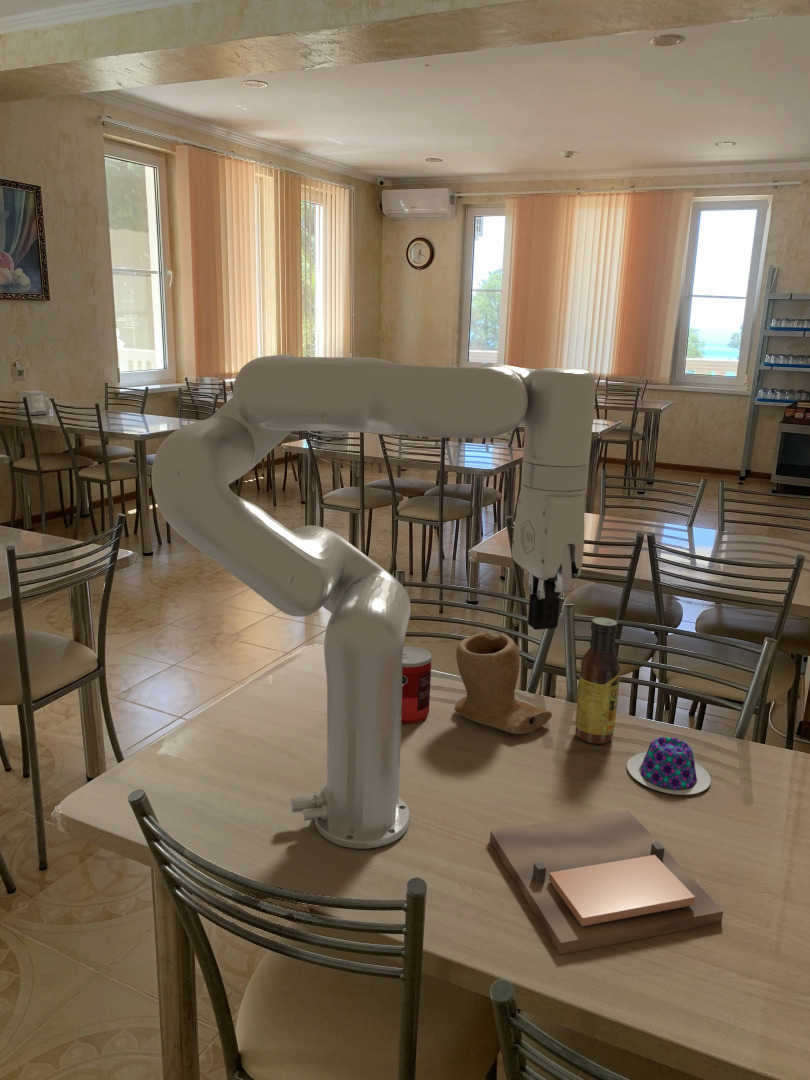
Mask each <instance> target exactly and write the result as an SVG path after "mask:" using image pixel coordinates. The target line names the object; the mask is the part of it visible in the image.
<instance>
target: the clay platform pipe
mask: <svg viewBox="0 0 810 1080" xmlns="http://www.w3.org/2000/svg"><path fill="white" fill-rule="evenodd" d="M455 657H456V662H457V663H456V664H457V668H458V671H459V676H460V678H461V680H462V684H463V686H464V689H465V692H466V696H464V697H462V698H461V699H459V700H458V701H456V704H455V706H454V711H455V712H456V714H458V715H459V716H461V717H462V718H465V719H468V720H470V721H473V722H476V723H478V724H480V725H481V724H482V725H484V726H487V727H491V728H494V729H497V730H500V731H503V732H506V733H510V734H512V735H513V734H514V735H526V734H531V733H532V732H534V731H536V730H538V729H540V728H541V727H543V726H544V725H546V724H547V723H548V721H550V720H551V718H552V716H553V714H552V711H550V710H546V709H544V708H541V707H538V706H535V705H532V704H529V703H527V702H524V701H521V700H517V699H516V698H515V691H516V686H517V682H518V678H519V672H520V664H521V663H520V662H521V660H520V651H519V647H518V645H517V644H516V642H515V641H514V639H513V638H511V637H510V636H508V635H506V634H501V633H499V634H493V633H489V632H481V633H475V634H473V635H469V636H468V637H466V638H464V639H462V640H461V641H460V642H459V644H458V645H457V648H456V654H455Z"/></svg>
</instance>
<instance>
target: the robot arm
mask: <svg viewBox="0 0 810 1080" xmlns="http://www.w3.org/2000/svg"><path fill="white" fill-rule="evenodd" d="M596 387H597V383H596V378H595V376H594V374H593V373H592V372H590V371H588V370H586V369H580V368H567V367H543V368H538V369H534V368H527V367H521V366H519V367H518V366H513V365H508V364H503V363H497V362H495V363H494V362H492V363H485V364H482V365H480V366H433V365H412V364H404V363H403V364H402V363H396V362H393V361H390V360H387V359H384V358H383V359H382V358H378V357H377V358H376V357H365V356H363V357H357V356H356V357H354V356H353V357H349V356H348V357H346V356H341V357H338V356H335V357H334V356H333V357H332V356H329V357H327V356H293V355H288V354H277V355H276V354H275V355H269V356H267V355H265V356H261V357H257V358H256V357H255V358H254V359H252V360H250V361H248V362H246V363H245V364H244V365H243V366H242V367H241V368H240V369H239V372H237V375H236V376H235V378H234V383H233V387H232V396H231V397H230V398H229V400H227V401H226V402H225V403H224V404H223V405H221V407H220V408H219V409H218V410H217V411H216V412H215V413H213V415H211V416H210V417H209V418H206V419H204V420H200V421H195V422H193V423H190V424H187V425H184V426H182V427H180V428H178V429H176V430H174V431H173V432H172V433H170V434H169V435H168V436H167V437H166V438H165V439H164V440H163V441H162V442H161V443H160V445H159V447H158V448H157V450H156V452H155V456H154V459H153V463H152V467H151V488H152V492H153V497H154V500H155V502H156V503H155V504H156V505H157V508H158V509H159V512H160V514H161V515H162V517H163V518H164V520H165V521H166V522H167V523H168V525H169V526H170V527H171V528H172V529H173V530H174V532H176V533H177V534H178V535H179V536H180V537H181V538H183V539H184V540H185V541H187V542H188V543H189V544H191V545H192V546H194V547H195V548H196V549H198V550H199V551H200V552H201V553H203V554H205V555H206V556H207V557H209V558H211V559H212V560H213V561H215V562H216V563H217V564H219V566H221V567H223V568H224V569H225V570H226V571H227V572H228V573H230V574H231V575H232V576H233V577H235V578H236V579H237V580H239V581H240V582H241V583H243V584H244V585H246V586H247V587H248V588H250V589H251V590H252V591H253V592H255V593H256V594H257V595H259V596H260V597H262V598H263V600H265V601H266V602H268V603H269V604H271V605H272V606H273V608H274V607H275V608H276V609H277V610H279V611H280V612H282V613H284V614H285V615H288V616H292V617H295V618H300V617H301V618H302V617H307V616H310V615H312V614H314V613H316V612H318V611H319V610H320V609H321V608H322V607H323V609H325V610H327V611H328V612H330V613H331V615H330V617H329V620H328V622H327V625H326V628H325V633H324V640H323V641H324V643H323V653H324V654H323V655H324V665H325V672H326V673H325V674H326V715H327V717H326V721H327V722H326V723H327V724H326V782H325V783H324V782H322V783H320V784H321V791H317V792H314V795H307V796H306V795H305V796H304V795H302V796H295V797H294V796H293V797H290V811H291V813H293V814H295V813H301V812H302V819H303V821H305V822H306V821H311V820H314V825H315V827H316V830H317V831H318V833H319V834H320V835H321V836H322V837H324V839H325V840H328V841H330V842H331V843H333V844H336V845H338V846H340V847H346V848H349V849H358V850H362V849H374V848H379V847H383V846H387V845H389V844H392V843H393V842H395V841H397V840H399V839H400V838H401V837H402V836H403V835H404V834H405V833H407V830H408V829H409V826H410V822H411V821H410V820H411V818H410V817H411V816H410V815H411V812H410V808H409V806H408V805H407V803H406V802H405V800H403V799H402V798H401V797H400V776H401V775H400V772H401V771H400V770H401V745H402V744H401V740H402V739H401V736H402V724H401V716H402V713H401V710H402V655H403V646H405V637H406V634H407V629H408V625H409V622H410V618H411V608H412V607H411V600H410V597H409V594H408V593H407V590H406V588H405V587H404V586H403V584H402V583H401V582H400V581H399V580H398V579H396V578H395V577H394V576H393V575H392V574H391V573H390V572H388V571H387V570H385V568H383V567H381V565H379V564H378V563H376V562H375V561H374V560H373V559H371V558H370V557H369V556H367V555H366V554H365V553H363V552H362V551H361V550H359V549H358V548H357V547H356V546H354V545H353V544H352V543H350V541H348V540H346V539H345V538H344V537H342V536H340V535H339V534H337V533H336V532H334V531H332V530H330V529H328V528H325V527H323V526H322V527H321V526H319V525H302V526H299V527H296V528H293V529H291V530H290V529H289V528H287V527H286V526H285V525H283V524H281V523H280V522H279V521H277V520H276V519H275V518H273V517H272V516H271V515H270V514H268V513H267V512H266V511H265V510H263V508H261V507H259V506H258V505H256V504H254V503H253V502H250V501H248V500H246V499H244V498H243V497H241V496H239V495H238V494H236V493H234V492H233V491H232V489H231V488H230V486H229V485H230V484H232V483H233V482H235V481H237V480H239V479H240V478H242V477H244V475H246V474H247V473H249V472H250V471H251V470H252V469H254V468H255V466H257V465H258V464H259V463H260V462H261V461H262V460H263V459H264V458H265V457H266V456H268V455H269V453H270V452H271V451H272V450H273V449H274V448H276V447H277V446H278V445H279V444H280V443H281V442H282V441H283V440H284V439H286V438H287V437H288V436H289V434H291V433H292V432H293V431H294V432H295V431H296V432H297V431H298V432H299V431H301V432H302V431H303V432H308V431H311V432H341V433H342V432H343V433H344V432H345V433H346V432H347V433H369V434H379V435H399V436H410V437H412V436H413V437H423V438H424V437H425V438H426V437H427V438H442V439H443V438H446V439H447V438H448V439H449V438H455V439H457V438H458V439H494V438H498V437H503V436H505V435H507V434H509V433H511V432H513V431H514V430H515V429H516V428H518V427H519V426H521V427H522V426H523V427H524V428H523V429H524V440H523V450H522V451H523V453H522V463H521V464H522V467H521V479H520V480H521V481H520V491H519V495H518V500H517V504H516V510H515V518H514V526H513V535H512V542H511V543H512V545H511V546H512V547H511V557H512V558H511V559H513V561H514V562H515V563H516V564H517V565H518V566H520V567H521V568H522V569H524V570H525V571H526V572H527V574H528V591H529V593H530V594H529V602H528V614H527V615H528V617H527V624H528V625H529V626H530V627H531V628H532V629H534V630H537V631H538V630H551V629H552V630H553V629H556V628H557V627H558V622H559V612H560V611H559V610H560V600H561V599H562V598H563V593H571V592H572V590H573V581H572V580H573V579H577V578H578V577H579V576H580V575H581V571H582V566H583V560H584V550H585V549H584V548H585V547H584V546H585V526H586V525H585V524H586V523H585V522H586V521H585V519H586V518H585V514H586V513H585V512H586V511H585V494H586V493H587V489H588V478H589V469H590V467H589V466H590V454H591V447H592V446H591V445H592V433H593V423H594V412H595V405H596V404H595V403H596V402H595V400H596V392H597V391H596Z"/></svg>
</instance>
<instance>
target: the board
mask: <svg viewBox="0 0 810 1080" xmlns="http://www.w3.org/2000/svg"><path fill="white" fill-rule="evenodd" d="M489 833H490V834H489V842H490V843H491V845H492V847H493V849H494V850H495V852H496V853H497V855H498V857H499V858H500V860H501V862H502V863H503V865H504V866H505V868H506V870H507V871H508V873H509V874H510V876H511V878H512V879H513V881H514V882H515V884H516V886H517V888H518V889H519V891H520V893H521V895H523V897H524V899H525V900H526V902H527V904H528V905H529V907H530V908H531V910H532V912H533V913H534V916H536V918H537V919H538V922H539V923H540V925H541V926H542V928H543V929H544V931H545V933H546V934H547V936H548V937H549V939H550V941H551V942H552V944H553V946H554V947H555V949H556V950H557V951H556V952H557V953H559V955H566V954H571V953H577V952H580V951H587V950H592V949H596V948H600V947H607V946H611V945H617V944H622V943H626V942H631V941H635V940H641V939H646V938H652V937H656V936H661V935H666V934H671V933H675V932H682V931H686V930H692V929H697V928H701V927H707V926H712V925H715V924H716V925H717V924H722V922H723V915H724V910H723V909H722V908H721V907H720V906H719V905H718V903H716V902H715V900H714V899H712V898H711V897H710V896H709V894H708V893H707V892H706V891H705V890H704V889H703V888H702V887H701V886H700V885H699V884H698V883H697V882H696V881H695V879H694V878H693V877H692V876H691V875H690V874H689V873H688V872H687V871H686V870H685V869H684V868H683V867H682V865H681V864H680V863H679V862H678V861H677V860H676V859H675V858H674V857H673V856H672V854H670V853H669V852H668V851H667V850H666V848H665V847H664V846H663V845H662V844H661V842H659V841H658V840H657V839H656V838H655V837H654V835H652V833H650V832H649V830H648V829H647V828H646V827H645V826H644V825H643V824H642V823H641V822H640V821H639V819H637V817H636V816H634V814H633V813H632V812H631V811H630V810H629V809H626V810H620V811H612V812H606V813H600V814H593V815H587V816H580V817H573V818H567V819H560V820H553V821H547V822H540V823H532V824H526V825H525V824H524V825H521V826H513V827H507V828H501V829H500V828H499V829H492V830H490V832H489ZM651 855H655V856H656V857H657V858H658V859H659V860H660V861H661V862H662V863H663V864H664V865H665V866H666V867H667V868H668V869H669V870H670V871H671V872H672V873H673V874H674V875H675V876H676V878H677V879H678V880H679V881H680V882H681V883H682V884H683V885H684V886H685V887H686V888H687V889H688V890H689V891H690V892H691V893H692V894H693V895H694V896H695V903H694V905H691V906H686V907H681V908H676V909H670V910H665V911H660V912H655V913H649V914H644V915H639V916H634V917H629V918H623V919H618V920H613V921H608V922H602V923H597V924H592V925H587V926H581V924H580V923H579V921H578V920H577V919H576V917H575V916H574V914H573V913H572V912H571V910H570V909H569V907H568V906H567V905H566V903H565V902H564V900H563V899H562V898H561V896H560V895H559V893H558V892H557V891H556V889H555V888H554V886H553V885H552V884H551V882H550V881H549V873H550V872H556V871H562V870H568V869H574V868H580V867H586V866H592V865H598V864H603V863H609V862H615V861H621V860H627V859H633V858H639V857H645V856H651Z"/></svg>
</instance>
